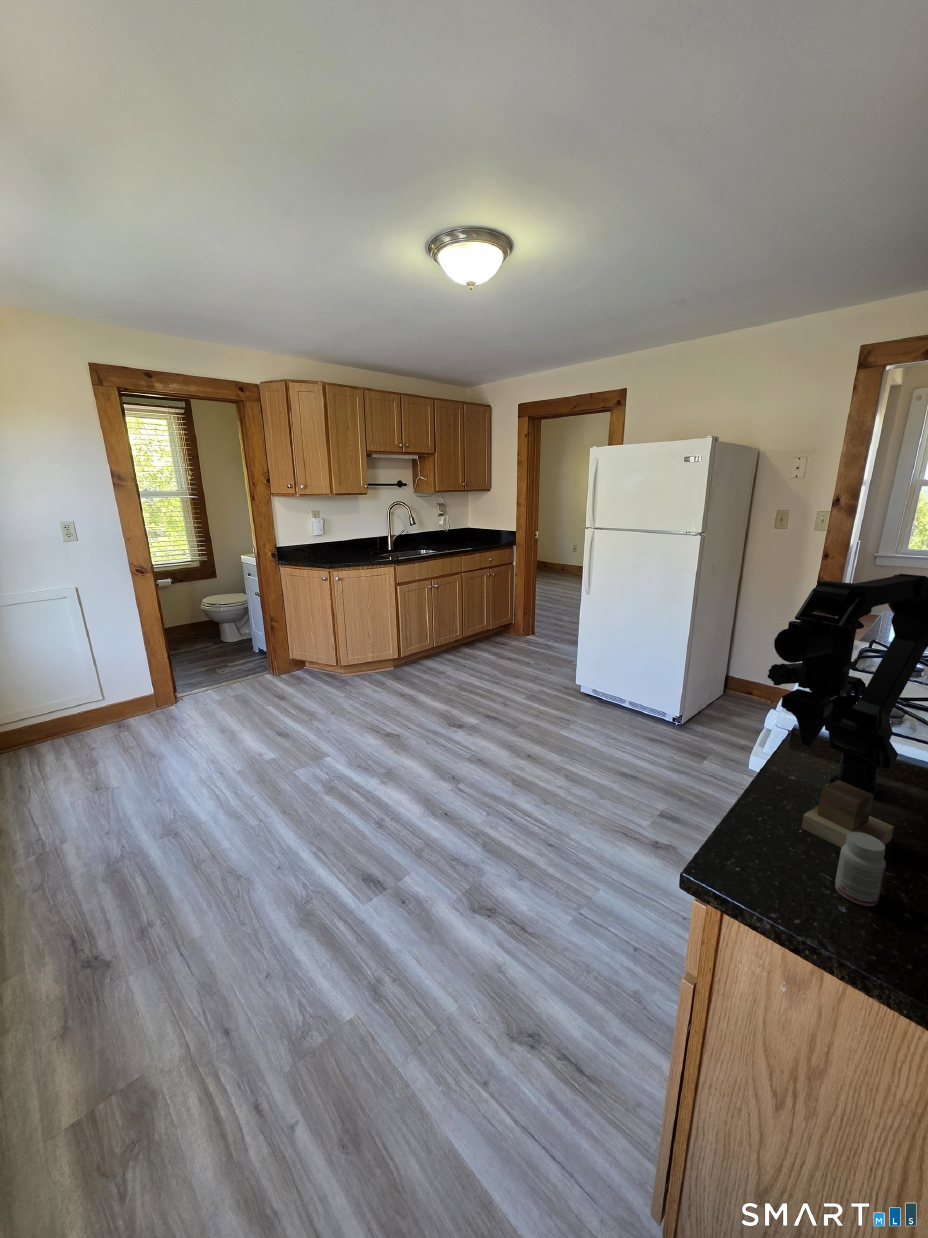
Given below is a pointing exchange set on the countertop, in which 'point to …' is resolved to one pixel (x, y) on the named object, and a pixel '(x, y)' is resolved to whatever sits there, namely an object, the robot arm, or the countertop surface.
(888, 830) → the maple block
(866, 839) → the pill bottle
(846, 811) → the walnut cube
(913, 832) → the countertop surface
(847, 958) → the countertop surface
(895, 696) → the robot arm
